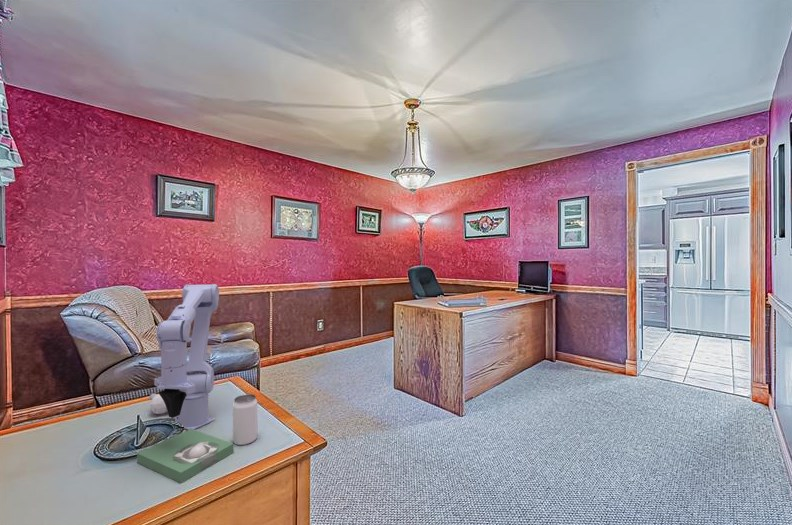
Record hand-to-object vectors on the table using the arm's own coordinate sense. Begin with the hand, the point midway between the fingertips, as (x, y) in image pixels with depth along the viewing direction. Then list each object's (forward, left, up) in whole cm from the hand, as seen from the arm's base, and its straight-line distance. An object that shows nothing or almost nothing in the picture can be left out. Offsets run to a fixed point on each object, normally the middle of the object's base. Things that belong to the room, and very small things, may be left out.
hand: (174, 415), depth 92 cm
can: (+11, +13, -10) cm, 20 cm away
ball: (+9, 0, -8) cm, 12 cm away
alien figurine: (-27, +13, -10) cm, 32 cm away
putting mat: (+5, 0, -10) cm, 11 cm away
